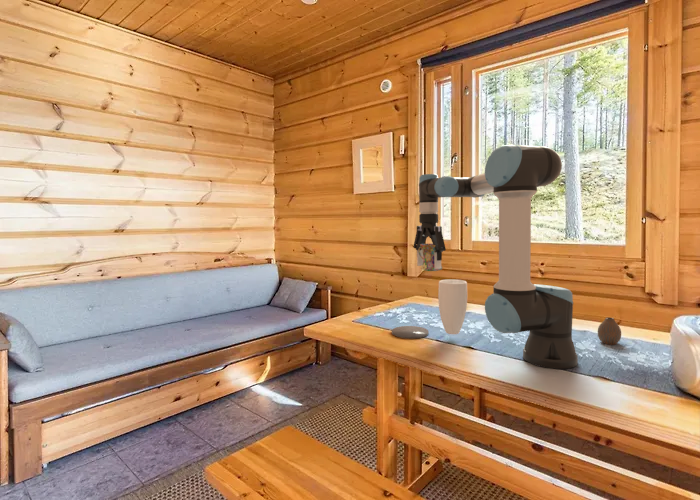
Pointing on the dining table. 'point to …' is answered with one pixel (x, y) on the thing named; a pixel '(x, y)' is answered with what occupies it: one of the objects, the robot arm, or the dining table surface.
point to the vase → (609, 331)
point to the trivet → (410, 332)
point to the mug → (428, 257)
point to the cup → (452, 304)
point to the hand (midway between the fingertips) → (428, 267)
